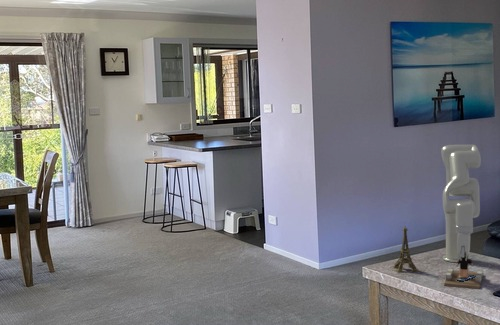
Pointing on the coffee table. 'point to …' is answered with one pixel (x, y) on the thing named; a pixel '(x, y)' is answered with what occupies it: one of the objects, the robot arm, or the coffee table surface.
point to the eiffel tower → (402, 258)
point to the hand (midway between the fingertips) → (464, 267)
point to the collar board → (471, 283)
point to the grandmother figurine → (462, 271)
